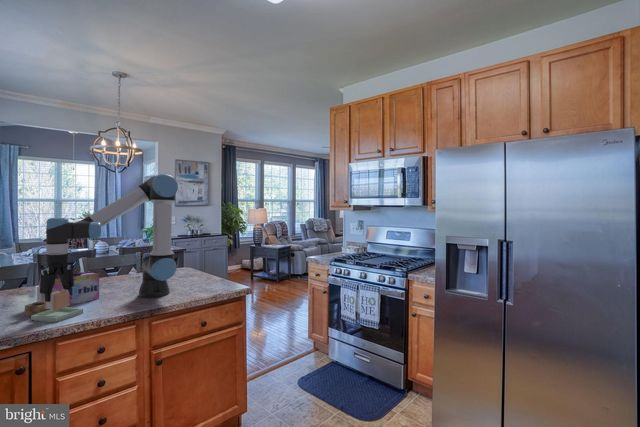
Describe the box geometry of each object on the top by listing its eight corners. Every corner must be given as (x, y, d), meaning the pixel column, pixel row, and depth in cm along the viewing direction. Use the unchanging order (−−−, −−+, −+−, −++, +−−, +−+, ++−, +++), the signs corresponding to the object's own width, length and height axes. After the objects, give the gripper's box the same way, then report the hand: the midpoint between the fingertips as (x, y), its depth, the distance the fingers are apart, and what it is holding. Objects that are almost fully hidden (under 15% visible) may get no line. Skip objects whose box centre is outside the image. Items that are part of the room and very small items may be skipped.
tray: (83, 312, 148) (83, 308, 148) (56, 322, 136) (56, 317, 135) (59, 311, 150) (59, 306, 150) (31, 320, 138) (30, 315, 138)
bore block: (57, 311, 150) (57, 301, 150) (40, 316, 142) (39, 306, 142) (43, 310, 151) (43, 300, 151) (24, 315, 144) (24, 305, 143)
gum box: (41, 310, 151) (41, 281, 151) (36, 307, 156) (35, 278, 156) (99, 298, 171) (99, 272, 171) (93, 296, 175) (93, 270, 175)
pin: (41, 314, 145) (41, 287, 145) (35, 314, 145) (34, 287, 145) (48, 312, 148) (48, 286, 148) (42, 312, 149) (42, 285, 148)
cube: (69, 305, 145) (69, 292, 145) (56, 309, 139) (56, 295, 139) (57, 304, 146) (58, 291, 146) (44, 308, 140) (44, 294, 140)
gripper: (70, 250, 152) (70, 299, 153) (27, 256, 134) (27, 312, 134) (84, 251, 151) (84, 301, 151) (42, 257, 132) (42, 314, 133)
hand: (57, 306), depth 143 cm, fingers closed on cube, 6 cm apart
